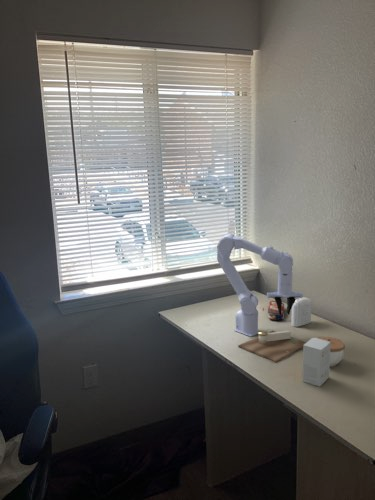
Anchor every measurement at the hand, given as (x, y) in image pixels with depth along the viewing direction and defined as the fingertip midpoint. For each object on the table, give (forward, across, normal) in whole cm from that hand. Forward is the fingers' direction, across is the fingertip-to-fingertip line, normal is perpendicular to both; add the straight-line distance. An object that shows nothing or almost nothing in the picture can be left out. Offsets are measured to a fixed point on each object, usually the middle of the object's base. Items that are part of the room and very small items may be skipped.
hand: (284, 314), depth 172 cm
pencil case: (+10, +2, +25) cm, 27 cm away
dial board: (+9, -6, -11) cm, 16 cm away
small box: (+10, +3, -37) cm, 39 cm away
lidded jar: (+10, +11, -25) cm, 29 cm away
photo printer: (+10, +10, +12) cm, 19 cm away
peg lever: (+8, -6, -8) cm, 13 cm away
